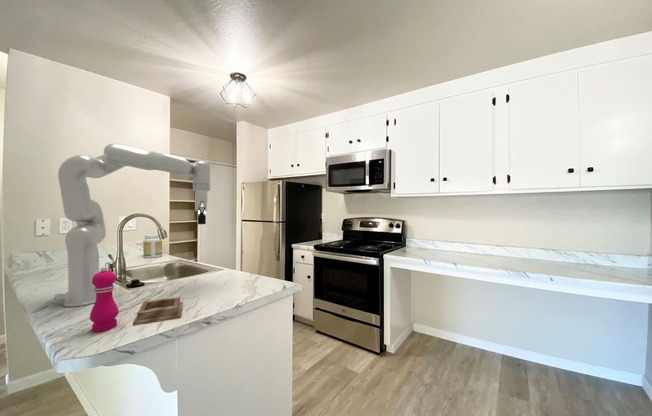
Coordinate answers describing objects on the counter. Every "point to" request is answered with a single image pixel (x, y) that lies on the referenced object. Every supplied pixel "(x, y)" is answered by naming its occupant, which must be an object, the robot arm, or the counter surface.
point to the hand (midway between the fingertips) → (201, 223)
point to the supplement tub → (152, 246)
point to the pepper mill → (104, 302)
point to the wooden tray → (159, 310)
